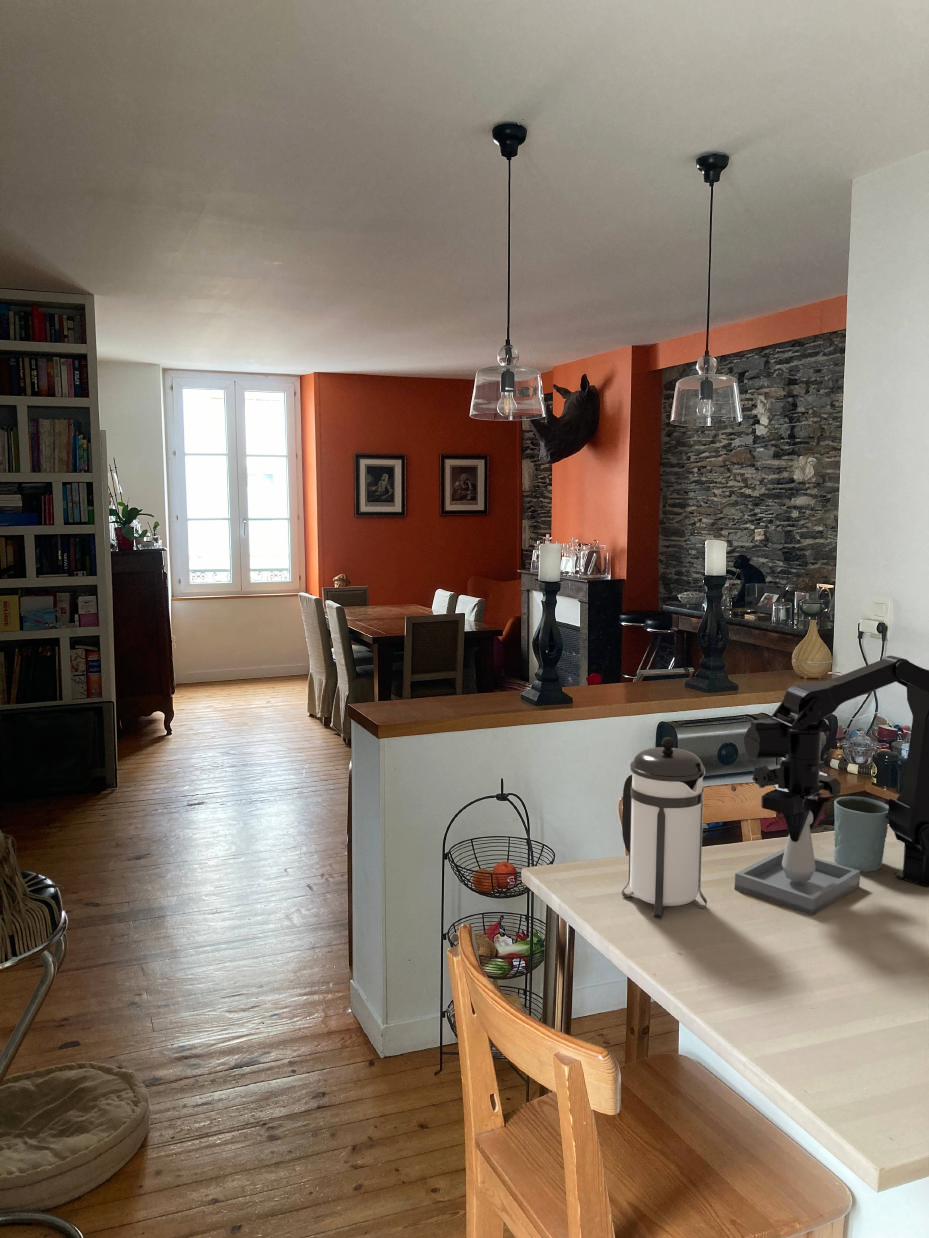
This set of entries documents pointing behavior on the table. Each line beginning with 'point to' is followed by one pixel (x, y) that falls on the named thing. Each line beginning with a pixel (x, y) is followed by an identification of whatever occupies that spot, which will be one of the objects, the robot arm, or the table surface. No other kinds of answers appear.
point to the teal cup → (860, 832)
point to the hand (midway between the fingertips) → (799, 838)
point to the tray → (797, 884)
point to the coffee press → (664, 826)
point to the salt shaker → (800, 855)
